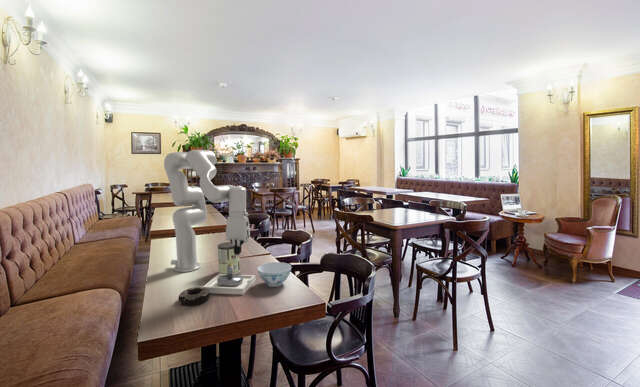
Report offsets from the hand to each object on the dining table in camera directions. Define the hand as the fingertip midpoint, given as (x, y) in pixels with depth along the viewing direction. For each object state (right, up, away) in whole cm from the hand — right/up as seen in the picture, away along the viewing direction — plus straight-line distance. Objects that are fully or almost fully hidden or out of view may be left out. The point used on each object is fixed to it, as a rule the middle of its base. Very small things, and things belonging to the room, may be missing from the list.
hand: (237, 253), depth 149 cm
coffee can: (-8, -12, +15) cm, 21 cm away
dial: (-2, -12, -3) cm, 13 cm away
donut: (-13, -16, -18) cm, 27 cm away
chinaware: (+17, -14, -1) cm, 22 cm away
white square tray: (-2, -14, -4) cm, 14 cm away
